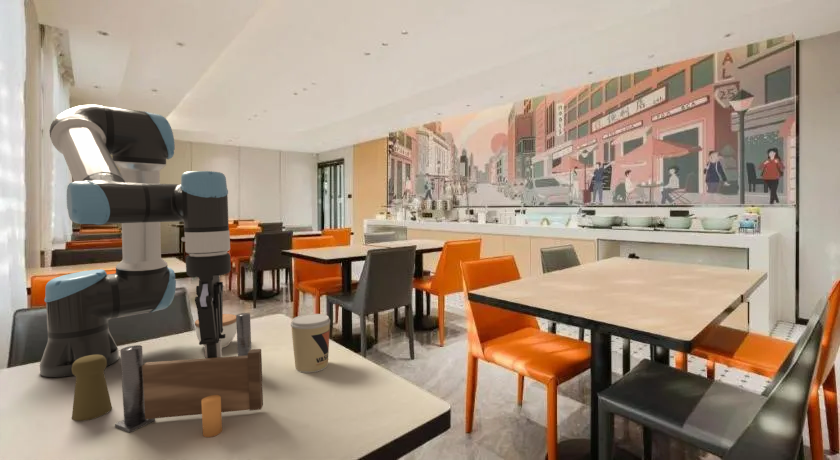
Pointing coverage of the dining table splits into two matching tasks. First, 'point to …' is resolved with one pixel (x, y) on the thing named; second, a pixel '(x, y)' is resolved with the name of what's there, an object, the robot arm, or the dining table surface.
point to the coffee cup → (310, 342)
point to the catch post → (211, 415)
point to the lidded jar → (228, 329)
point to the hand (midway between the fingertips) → (214, 374)
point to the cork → (90, 388)
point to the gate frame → (134, 376)
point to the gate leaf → (202, 384)
